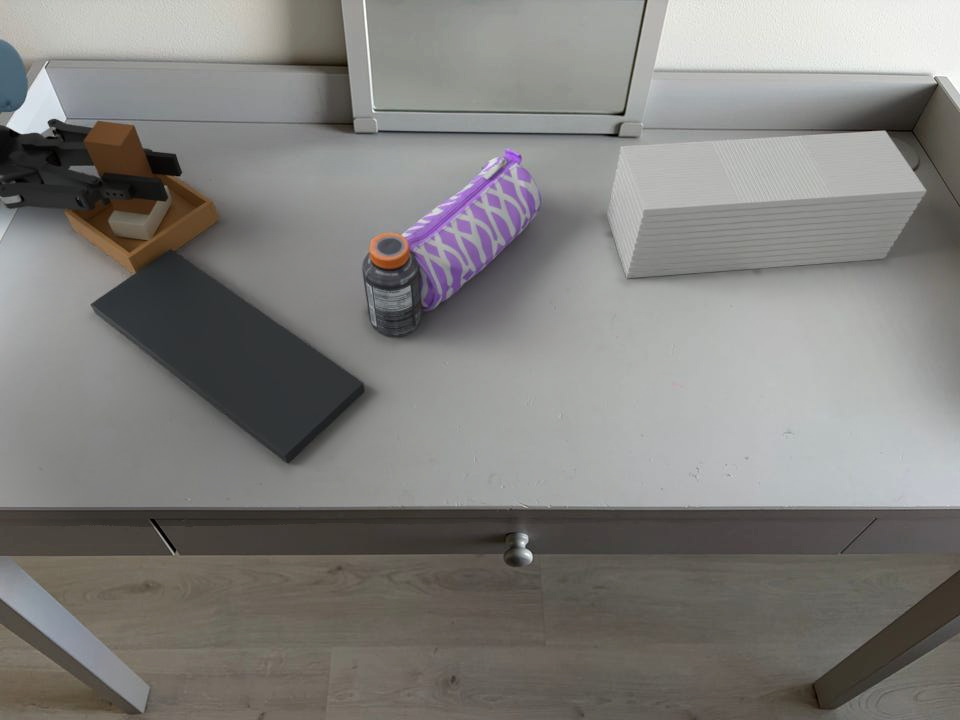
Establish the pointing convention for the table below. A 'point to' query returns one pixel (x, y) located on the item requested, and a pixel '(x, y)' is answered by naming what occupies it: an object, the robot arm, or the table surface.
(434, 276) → the pencil case
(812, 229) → the stack of papers
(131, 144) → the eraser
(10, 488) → the table surface
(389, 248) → the pill bottle
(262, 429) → the slate board
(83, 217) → the tray
